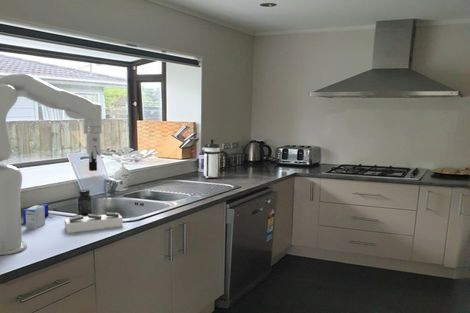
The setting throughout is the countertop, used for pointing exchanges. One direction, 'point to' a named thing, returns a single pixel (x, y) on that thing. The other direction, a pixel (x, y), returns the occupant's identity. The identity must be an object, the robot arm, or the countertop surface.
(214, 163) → the coffee press
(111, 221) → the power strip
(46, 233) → the countertop surface
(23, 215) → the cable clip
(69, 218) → the rocker inner
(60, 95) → the robot arm
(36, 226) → the medicine box
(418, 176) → the countertop surface
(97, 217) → the rocker middle
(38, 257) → the countertop surface
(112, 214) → the rocker outer
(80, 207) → the supplement bottle
